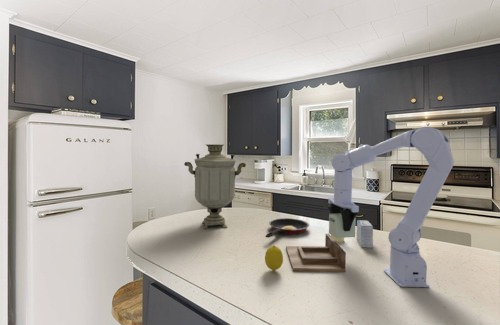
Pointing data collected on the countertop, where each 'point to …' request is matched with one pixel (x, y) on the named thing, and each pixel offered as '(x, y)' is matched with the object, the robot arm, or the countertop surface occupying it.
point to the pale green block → (340, 226)
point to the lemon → (273, 258)
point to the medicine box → (364, 234)
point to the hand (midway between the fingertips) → (341, 228)
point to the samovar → (214, 182)
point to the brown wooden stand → (318, 257)
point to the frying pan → (287, 226)
